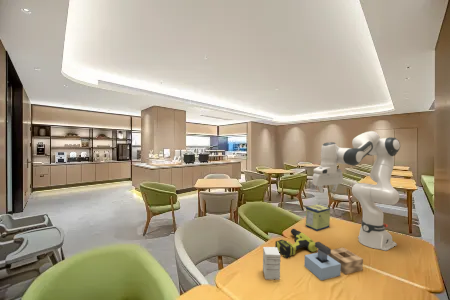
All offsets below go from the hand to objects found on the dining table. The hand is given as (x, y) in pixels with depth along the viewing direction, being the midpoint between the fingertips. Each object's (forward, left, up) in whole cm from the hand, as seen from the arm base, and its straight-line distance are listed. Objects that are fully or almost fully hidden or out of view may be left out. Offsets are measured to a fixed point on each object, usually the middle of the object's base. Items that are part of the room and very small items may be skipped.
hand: (327, 192), depth 127 cm
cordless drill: (+17, -12, -37) cm, 42 cm away
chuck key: (+17, +15, -36) cm, 43 cm away
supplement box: (+45, +10, -37) cm, 59 cm away
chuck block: (+18, +15, -36) cm, 43 cm away
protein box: (-20, -30, -37) cm, 51 cm away
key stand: (+3, +15, -36) cm, 40 cm away
